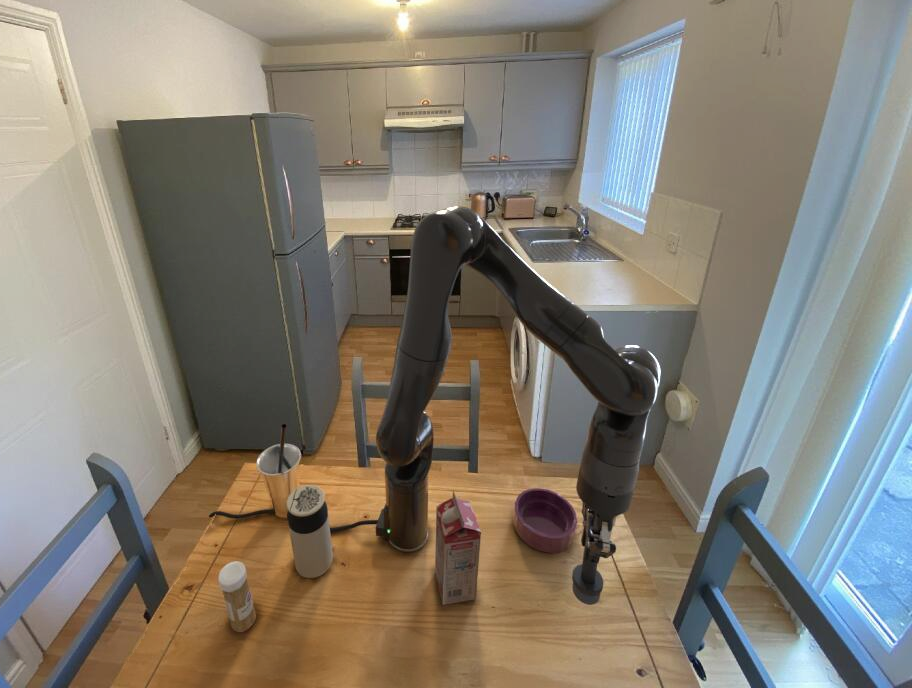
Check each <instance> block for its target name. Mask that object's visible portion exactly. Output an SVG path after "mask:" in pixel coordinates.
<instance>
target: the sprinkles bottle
mask: <svg viewBox="0 0 912 688" xmlns="http://www.w3.org/2000/svg"><path fill="white" fill-rule="evenodd" d="M247 575H248V573H247V568H246V566H245V564H244V563H243V562H241V561H238V560H237V561H236V560H235V561H231V562H229V563H227V564H225V565H224V566H223V567H222V568H221V570H220V571H219V573H218V576H217V577H218V578H217V579H218V584H219V587H220V589H221V591H222V595H223V601H224V603H225V607H226V610H227V614H228V617H229V619H230V625H231V628H232V630H233V631H235V632H236V633H243V632H245V631H248V630H249V629H250V628H251V627H252V626H253V624H254V623H255V621H256V618H257V613H256V610H255V607H254V600H253V597H252V593H251V590H250V586H249V581H248V577H247Z"/></svg>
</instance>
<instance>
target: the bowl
mask: <svg viewBox="0 0 912 688" xmlns="http://www.w3.org/2000/svg"><path fill="white" fill-rule="evenodd" d="M512 524H513V527H514V530H515V533H517V535H518V536H519V538H520V539H521V540H522V541H523V542H524V543H525V544H527V545H528V546H530V547H531V548H533V549H535V550H537V551H538V552H544V553H548V554H552V553H553V554H554V553H561V552H564V551H565V550H568V549H569V548H570V547H571V545H573V543H574V539H575V536H576V533H577V532H576V531H577V526H578V517H577V513H576V510H575V509H574V506H573V505H572V503H570V502H569V501H568V500H567V498H565V497H564V496H562V495H561V494H559V493H558V492H555V491H553V490H550V489H548V488H541V487H536V488H528V489H525V490H523V491H522V492H521V493H519V494H518V495H517V496H516V499H515V501H514V506H513V514H512Z"/></svg>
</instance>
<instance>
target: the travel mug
mask: <svg viewBox="0 0 912 688" xmlns="http://www.w3.org/2000/svg"><path fill="white" fill-rule="evenodd" d="M325 499H326V495H325V492H324V489H322V487H320V486H317V485H314V484H305V485H304V484H303V485H302V486H300V487H299V488H297V489H295V490H294V491H293V492H292V493H291V494H290V495H289V497H288V499H287V503H286V505H287V509H288V512H287V517H286V518H287V525H288V530H289V537H290V542H291V549H292V553H293V554H292V555H293V560H294V561H293V562H294V566H295V570H296V571H297V573H298V574H299V575H300V577H303V578H305V579H315V578H318V577H321V576H322V575H324V574H325V573H326V572H327V571H328V570H329V569H330V567H331V565H332V564H333V560H334V554H333V543H332V536H331V532H330V528H331V527H330V517H329V510H328V504H327V502H326V500H325Z"/></svg>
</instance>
